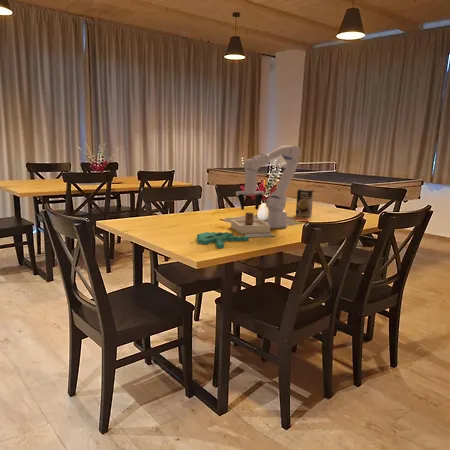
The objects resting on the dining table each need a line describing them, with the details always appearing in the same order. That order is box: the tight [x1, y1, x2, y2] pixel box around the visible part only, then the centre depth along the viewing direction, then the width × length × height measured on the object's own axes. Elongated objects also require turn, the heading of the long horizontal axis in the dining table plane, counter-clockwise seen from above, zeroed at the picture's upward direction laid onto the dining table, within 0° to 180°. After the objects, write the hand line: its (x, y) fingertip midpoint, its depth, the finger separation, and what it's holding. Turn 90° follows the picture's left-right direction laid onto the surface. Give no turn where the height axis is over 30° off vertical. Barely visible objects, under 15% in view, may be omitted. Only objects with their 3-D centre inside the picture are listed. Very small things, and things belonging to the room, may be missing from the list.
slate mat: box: [242, 232, 276, 239], centre depth 199 cm, size 14×7×1 cm, turn 106°
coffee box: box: [295, 188, 315, 218], centre depth 253 cm, size 9×6×16 cm
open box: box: [230, 218, 271, 235], centre depth 210 cm, size 16×16×4 cm
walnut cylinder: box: [245, 211, 254, 225], centre depth 211 cm, size 4×4×6 cm
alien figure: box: [196, 231, 250, 250], centre depth 187 cm, size 20×2×20 cm
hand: (249, 209), depth 210 cm, fingers open, 7 cm apart
